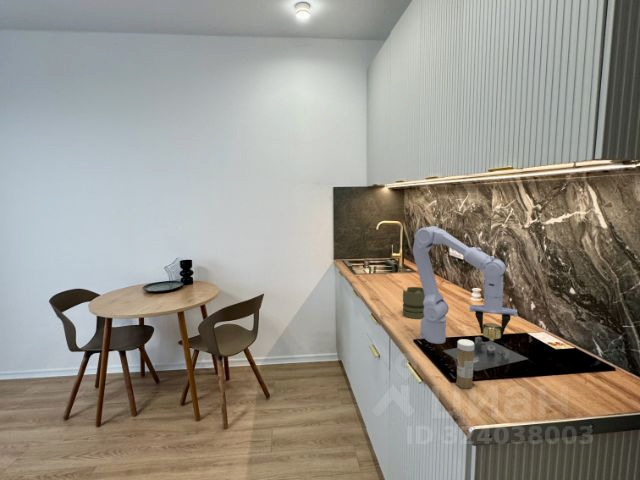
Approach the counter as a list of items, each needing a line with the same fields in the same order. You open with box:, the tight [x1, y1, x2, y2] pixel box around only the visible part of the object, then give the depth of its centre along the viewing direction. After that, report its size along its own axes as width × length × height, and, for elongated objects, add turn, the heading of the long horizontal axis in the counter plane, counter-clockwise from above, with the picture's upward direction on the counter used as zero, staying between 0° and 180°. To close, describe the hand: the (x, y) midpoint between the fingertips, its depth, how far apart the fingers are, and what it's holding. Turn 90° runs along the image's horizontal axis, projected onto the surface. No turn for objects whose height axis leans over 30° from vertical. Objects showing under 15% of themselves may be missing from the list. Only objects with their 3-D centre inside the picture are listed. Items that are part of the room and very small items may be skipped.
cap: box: [482, 322, 502, 342], centre depth 125 cm, size 9×6×4 cm, turn 155°
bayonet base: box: [442, 336, 529, 372], centre depth 125 cm, size 16×22×4 cm
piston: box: [402, 286, 425, 320], centre depth 169 cm, size 11×12×11 cm
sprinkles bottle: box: [456, 338, 475, 389], centre depth 107 cm, size 5×5×14 cm
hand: (491, 333), depth 125 cm, fingers closed on cap, 5 cm apart
